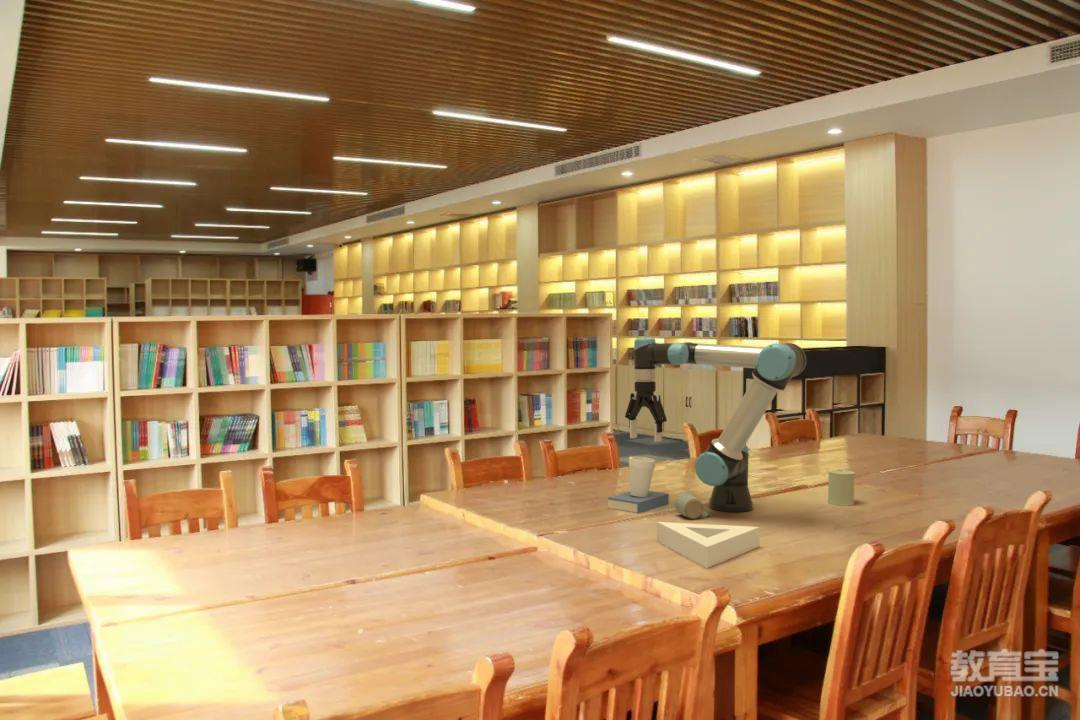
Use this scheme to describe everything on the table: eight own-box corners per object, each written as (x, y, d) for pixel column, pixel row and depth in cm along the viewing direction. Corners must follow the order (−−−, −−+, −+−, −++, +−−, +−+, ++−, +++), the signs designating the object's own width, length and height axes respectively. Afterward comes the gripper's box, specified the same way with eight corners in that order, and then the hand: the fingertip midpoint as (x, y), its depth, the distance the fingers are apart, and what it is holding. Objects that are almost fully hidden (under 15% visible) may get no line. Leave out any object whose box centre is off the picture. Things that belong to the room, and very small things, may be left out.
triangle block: (656, 542, 253) (656, 521, 252) (732, 536, 261) (732, 515, 261) (706, 570, 224) (707, 546, 224) (789, 562, 232) (790, 539, 232)
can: (850, 500, 312) (851, 468, 311) (857, 505, 302) (858, 472, 302) (825, 500, 312) (825, 468, 312) (831, 505, 303) (831, 472, 303)
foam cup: (652, 499, 295) (655, 462, 295) (626, 496, 296) (629, 459, 295) (651, 493, 305) (654, 458, 304) (625, 490, 306) (629, 455, 305)
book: (668, 505, 304) (668, 493, 304) (638, 515, 289) (638, 502, 289) (638, 500, 313) (638, 489, 313) (607, 509, 297) (607, 497, 297)
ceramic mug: (684, 520, 279) (685, 497, 278) (674, 515, 287) (674, 492, 286) (713, 519, 282) (714, 496, 281) (702, 513, 290) (702, 491, 289)
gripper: (676, 381, 293) (676, 442, 293) (631, 379, 314) (631, 435, 314) (660, 382, 289) (660, 444, 289) (615, 379, 309) (615, 437, 310)
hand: (645, 439), depth 302 cm, fingers open, 13 cm apart
